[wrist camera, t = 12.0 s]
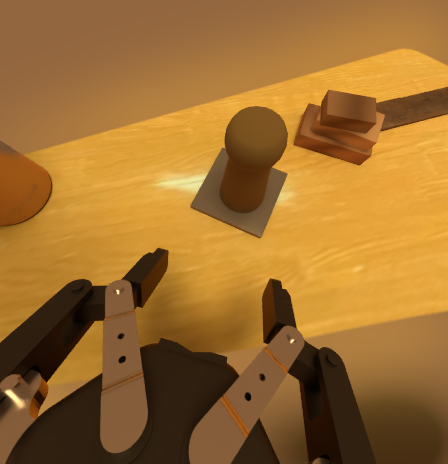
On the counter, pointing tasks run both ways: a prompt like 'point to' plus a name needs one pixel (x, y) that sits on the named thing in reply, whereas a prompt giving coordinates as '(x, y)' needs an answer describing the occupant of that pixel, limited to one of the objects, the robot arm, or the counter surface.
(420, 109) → the wooden plank
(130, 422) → the robot arm
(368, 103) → the offcut stack
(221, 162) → the slate coaster
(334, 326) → the counter surface
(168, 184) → the counter surface
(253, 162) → the cork
